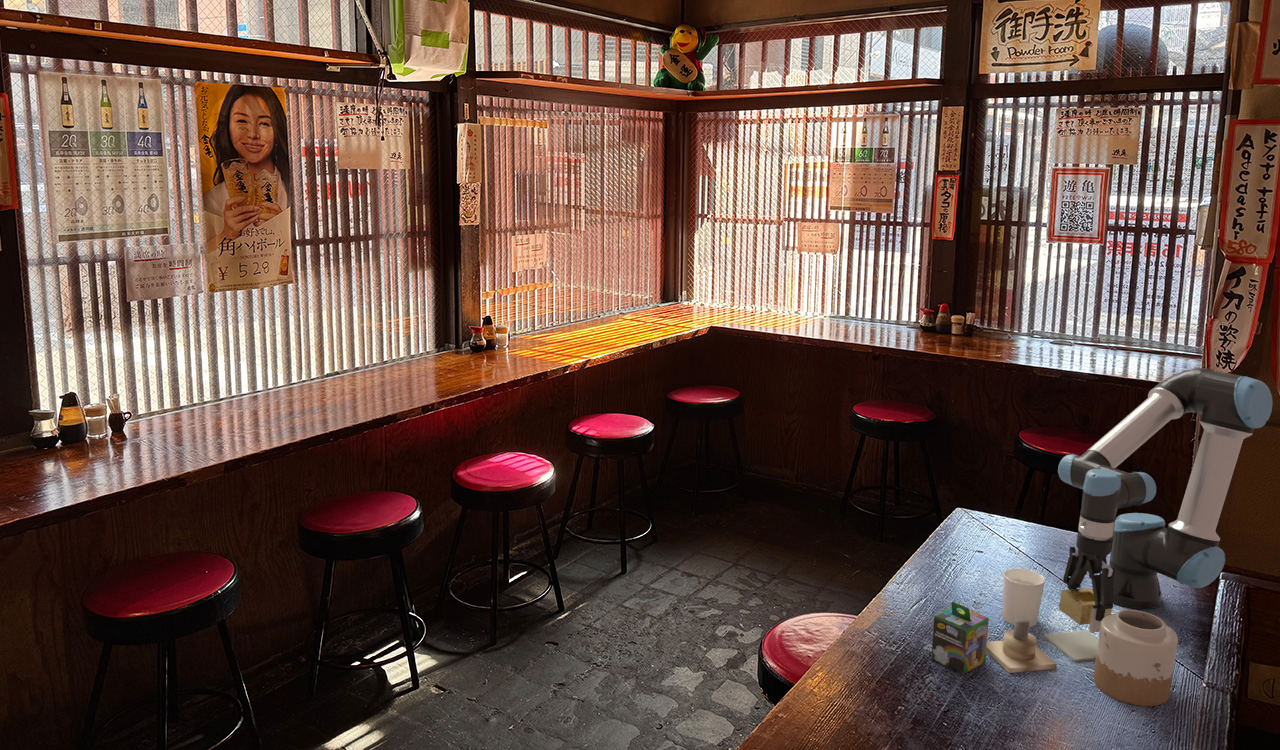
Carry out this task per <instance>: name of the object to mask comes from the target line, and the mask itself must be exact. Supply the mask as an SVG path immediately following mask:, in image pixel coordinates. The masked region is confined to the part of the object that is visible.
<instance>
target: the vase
mask: <svg viewBox="0 0 1280 750" xmlns="http://www.w3.org/2000/svg"><path fill="white" fill-rule="evenodd" d="M1178 645H1179V637H1178V635H1177V633H1176V632H1175V630H1173V628H1171V627H1170V626H1169V625H1167V624H1166V623H1165V621H1164V620H1163V619H1161V618H1160V617H1158V616H1157V615H1154V614H1152V613H1150V612H1146V611H1144V610H1140V609H1122V610H1119V611H1117V612H1116V613H1111V615H1108V616H1106V617H1104V618H1103V619H1102V621H1101V624H1100V631H1099V632H1098V646H1097V654H1096V660H1095V664H1094V671H1093V681H1094V683H1095V686H1096V687H1097V688H1098V689H1099V690H1100V691H1101V692H1103V693H1104V694H1105V695H1107V696H1109V697H1111V698H1113V699H1115V700H1117V701H1120V702H1122V703H1126V704H1130V705H1134V706H1140V707H1154V706H1155V707H1156V706H1159V705H1164V704H1165V703H1166V702H1168V701H1169V698H1170V697H1171V696H1170V695H1171V690H1172V683H1173V677H1174V670H1175V663H1176V657H1177V651H1178Z"/></svg>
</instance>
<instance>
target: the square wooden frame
mask: <svg viewBox="0 0 1280 750" xmlns="http://www.w3.org/2000/svg"><path fill="white" fill-rule="evenodd" d="M1100 603H1101V602H1100ZM1058 606H1059V607H1058V610H1060V612H1062V613H1064V614H1065V615H1066V616H1067V617H1069V618H1070V619H1071V620H1072V621H1074V622H1075V623H1076V624H1078V625H1079V626H1082V625H1090V620H1091V612H1092V606H1095V601H1094V593H1093V588H1077V589H1074V590H1068V589H1063V590H1061V591H1060V599H1059V605H1058ZM1112 611H1113V609H1106V610H1105V615H1104V617H1106V616H1108V615H1111V614H1112Z"/></svg>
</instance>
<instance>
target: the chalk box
mask: <svg viewBox="0 0 1280 750" xmlns="http://www.w3.org/2000/svg"><path fill="white" fill-rule="evenodd" d="M950 603H951V604H950V605H951V607H949V608H945V609H944V610H942V611H941V612H939V613H938V614H935V615H934V616H933V629H932V642H931V643H932V644H931V645H932V646H931V660H933V661H936V662H937V663H939V664H941V665H943V666H945V667H948V668H949V669H951V670H953V671H955V672H957V673H959V674H961V675H965V674H967V673H968V672H971V671H972V670H974V669H976V668H977V667H979V666H981V665H983V664H984V663H986V658H987V652H986V648H987V642H988V632H989V619H990V618H989V617H987V616H985V615H983V614H980V613H978V612H975V611H972V610H970V608H969V607H967V606H964V605H963V604H960V603H957V602H955V601H951V602H950Z"/></svg>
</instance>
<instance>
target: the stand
mask: <svg viewBox="0 0 1280 750" xmlns="http://www.w3.org/2000/svg"><path fill="white" fill-rule="evenodd" d="M1029 630H1030V627H1029V621H1028V620H1027V619H1025V618H1016V619H1015V623H1014V625H1013V629H1010V630H1006V631H1005V632H1004V633H1003V639H1002V640H994V641H987V648H986V653H987V654H989V655H990V657H992V659H994V661H996V662H997V663H998V664H999V665H1000V666H1001V667H1003V669H1004V670H1005V671H1006V672H1008V674H1012V673H1022V672H1034V671H1035V672H1036V671H1042V670H1043V671H1044V670H1045V671H1046V670H1050V669H1051V670H1053V669H1055V670H1056V669H1057V664H1058V663H1056V661H1054V660H1053V659H1052V658H1051V657H1049V656H1048V655H1047V654H1046V653H1045V652H1044V651H1043V650H1041V649H1040V648H1039V647H1038V646H1037V642H1038V641H1037V638H1036V636H1035V635H1033V634H1031V633H1029Z"/></svg>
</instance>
